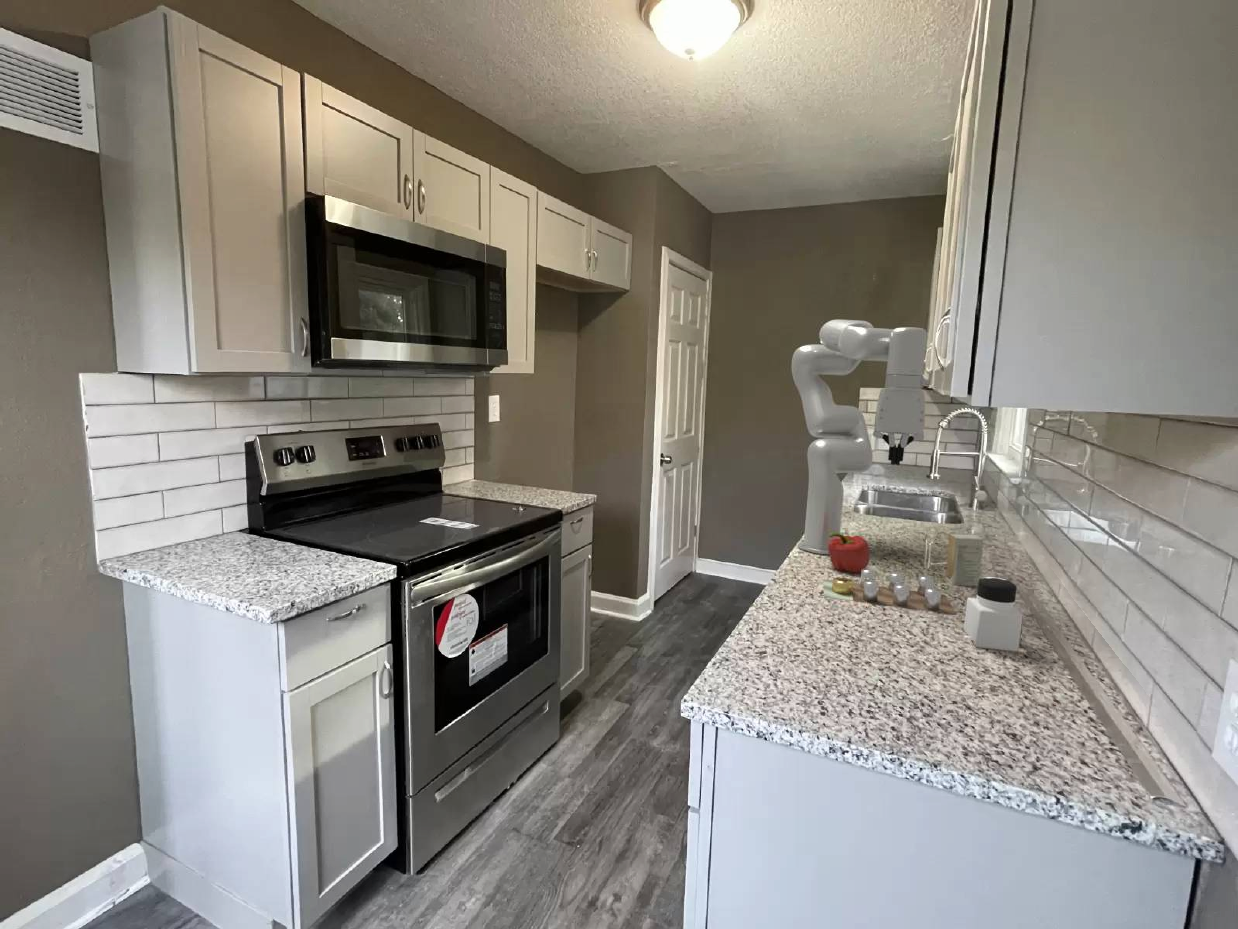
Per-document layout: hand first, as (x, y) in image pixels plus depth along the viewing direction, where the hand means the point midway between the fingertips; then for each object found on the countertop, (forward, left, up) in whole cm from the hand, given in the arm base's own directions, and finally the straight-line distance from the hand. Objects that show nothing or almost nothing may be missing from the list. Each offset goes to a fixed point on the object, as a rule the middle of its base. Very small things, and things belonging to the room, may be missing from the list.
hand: (895, 464), depth 143 cm
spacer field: (+10, +2, -28) cm, 30 cm away
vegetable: (-8, -8, -29) cm, 31 cm away
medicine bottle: (+28, +16, -29) cm, 43 cm away
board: (+10, -1, -29) cm, 31 cm away
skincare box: (-8, +18, -29) cm, 35 cm away
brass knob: (+12, -9, -28) cm, 32 cm away
